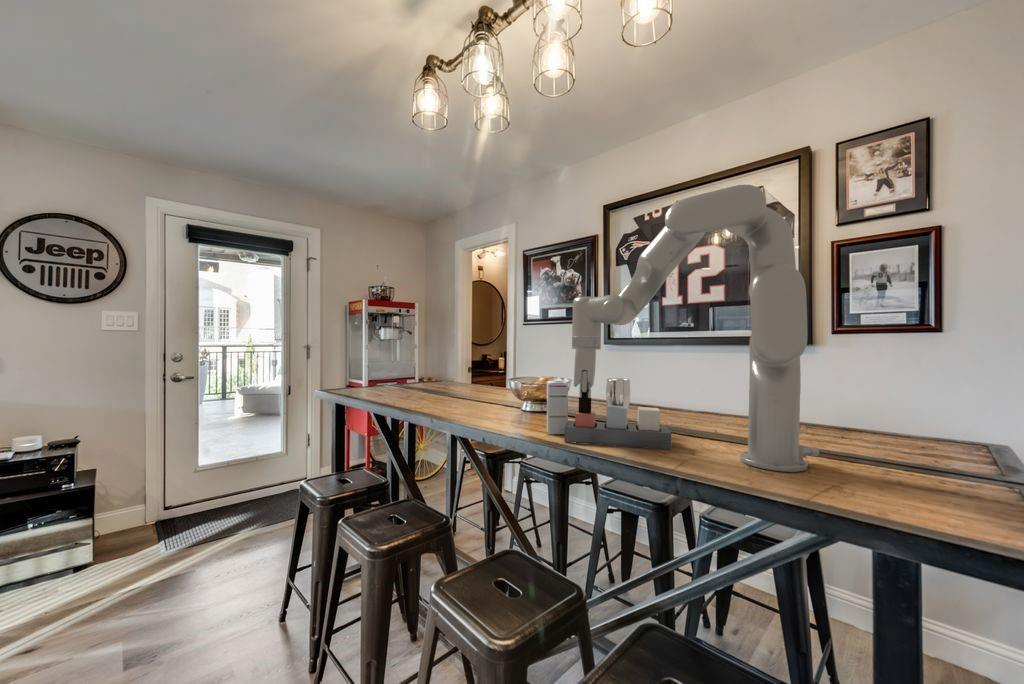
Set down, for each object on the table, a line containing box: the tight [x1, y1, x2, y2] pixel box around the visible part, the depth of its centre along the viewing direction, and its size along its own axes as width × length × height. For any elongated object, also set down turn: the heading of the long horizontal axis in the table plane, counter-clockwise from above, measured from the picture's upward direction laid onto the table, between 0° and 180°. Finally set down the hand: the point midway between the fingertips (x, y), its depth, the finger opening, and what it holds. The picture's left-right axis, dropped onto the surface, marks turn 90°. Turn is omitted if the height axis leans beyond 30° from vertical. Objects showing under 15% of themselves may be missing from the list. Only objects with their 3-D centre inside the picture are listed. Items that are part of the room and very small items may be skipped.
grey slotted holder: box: [563, 420, 672, 451], centre depth 112 cm, size 9×26×4 cm, turn 77°
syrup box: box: [546, 380, 569, 435], centre depth 122 cm, size 6×6×14 cm
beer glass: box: [605, 377, 631, 415], centre depth 126 cm, size 7×7×15 cm
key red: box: [574, 410, 596, 428], centre depth 113 cm, size 5×5×5 cm
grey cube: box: [605, 405, 628, 429], centre depth 112 cm, size 5×5×5 cm
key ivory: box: [637, 406, 661, 431], centre depth 110 cm, size 5×5×5 cm
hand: (584, 412), depth 113 cm, fingers closed
